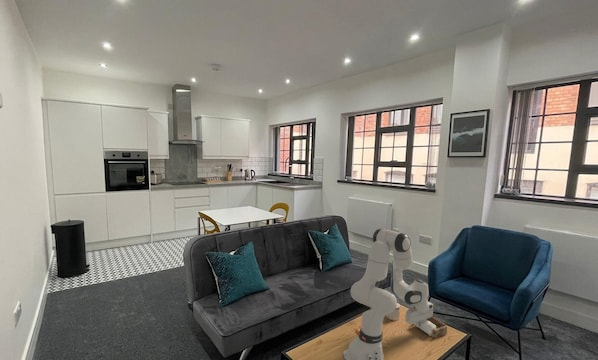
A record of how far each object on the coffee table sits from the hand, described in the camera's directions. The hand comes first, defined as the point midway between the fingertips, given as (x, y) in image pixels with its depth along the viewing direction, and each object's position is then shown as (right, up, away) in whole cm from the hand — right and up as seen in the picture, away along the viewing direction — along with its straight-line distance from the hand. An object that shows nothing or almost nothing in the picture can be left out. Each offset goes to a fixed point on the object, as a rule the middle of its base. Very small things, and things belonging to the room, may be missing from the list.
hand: (418, 326), depth 177 cm
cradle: (+9, -4, +5) cm, 11 cm away
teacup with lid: (-11, -3, +19) cm, 21 cm away
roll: (+5, 0, +2) cm, 5 cm away
